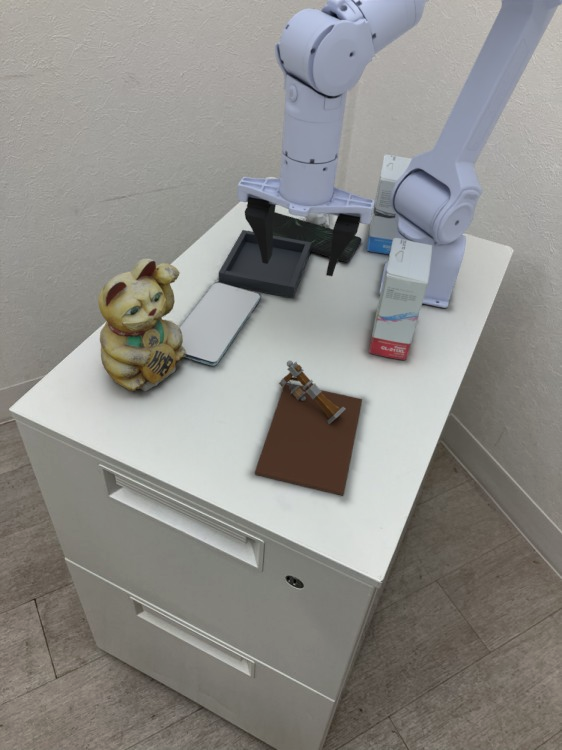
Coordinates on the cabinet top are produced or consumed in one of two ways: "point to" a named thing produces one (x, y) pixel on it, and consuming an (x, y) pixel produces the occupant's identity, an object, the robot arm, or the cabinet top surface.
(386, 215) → the ink box
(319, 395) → the brown grey jointed column
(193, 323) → the smartphone
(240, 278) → the tray
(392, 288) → the ink box
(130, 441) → the cabinet top surface
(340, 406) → the desk pad
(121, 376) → the decorative figurine
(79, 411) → the cabinet top surface
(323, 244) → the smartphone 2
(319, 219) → the toy
